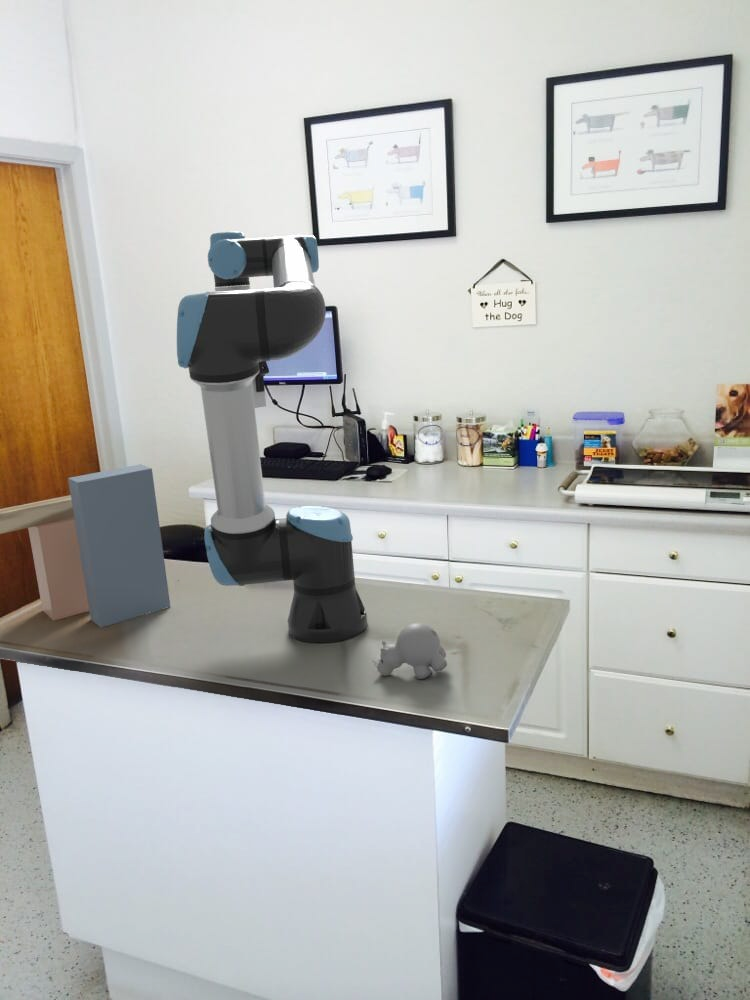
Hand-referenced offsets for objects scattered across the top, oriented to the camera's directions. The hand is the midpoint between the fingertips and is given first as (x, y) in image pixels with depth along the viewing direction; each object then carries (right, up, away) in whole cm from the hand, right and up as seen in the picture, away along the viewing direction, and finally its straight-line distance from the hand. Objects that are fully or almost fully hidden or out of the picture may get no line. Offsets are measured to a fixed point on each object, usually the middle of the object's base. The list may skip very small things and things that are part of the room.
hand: (245, 404), depth 192 cm
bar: (-37, -25, -13) cm, 47 cm away
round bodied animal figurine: (+35, -51, -47) cm, 77 cm away
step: (-36, -45, -8) cm, 58 cm away
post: (-22, -45, -12) cm, 51 cm away
